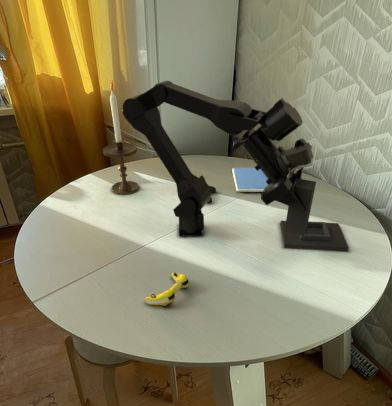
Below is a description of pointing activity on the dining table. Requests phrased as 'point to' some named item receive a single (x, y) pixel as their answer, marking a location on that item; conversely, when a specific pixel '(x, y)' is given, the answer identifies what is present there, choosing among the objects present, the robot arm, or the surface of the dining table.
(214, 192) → the gaming controller
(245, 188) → the tablet
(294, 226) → the dark rectangular block
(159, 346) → the dining table surface
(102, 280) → the dining table surface
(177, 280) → the yellow toy animal
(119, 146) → the candlestick
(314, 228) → the base pad
